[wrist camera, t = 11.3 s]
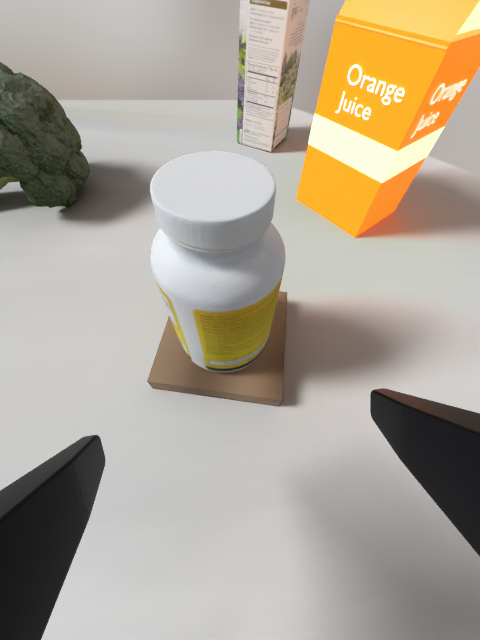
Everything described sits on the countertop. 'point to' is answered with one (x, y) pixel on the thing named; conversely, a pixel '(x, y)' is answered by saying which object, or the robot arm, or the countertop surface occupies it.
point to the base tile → (243, 385)
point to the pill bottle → (217, 255)
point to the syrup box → (268, 69)
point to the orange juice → (385, 103)
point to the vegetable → (38, 143)
